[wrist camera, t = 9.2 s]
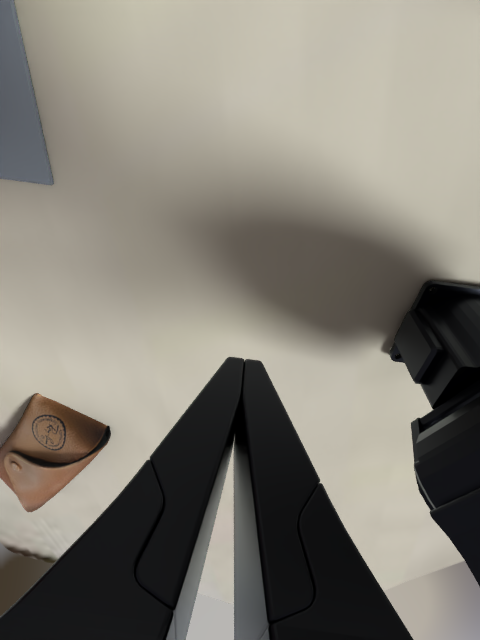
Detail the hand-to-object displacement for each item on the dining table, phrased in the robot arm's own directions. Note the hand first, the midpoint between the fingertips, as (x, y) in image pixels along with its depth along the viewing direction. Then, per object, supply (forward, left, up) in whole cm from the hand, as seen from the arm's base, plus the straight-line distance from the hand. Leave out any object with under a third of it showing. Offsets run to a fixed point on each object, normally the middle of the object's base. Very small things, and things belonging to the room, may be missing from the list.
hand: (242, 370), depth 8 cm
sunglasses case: (+20, +29, -14) cm, 37 cm away
